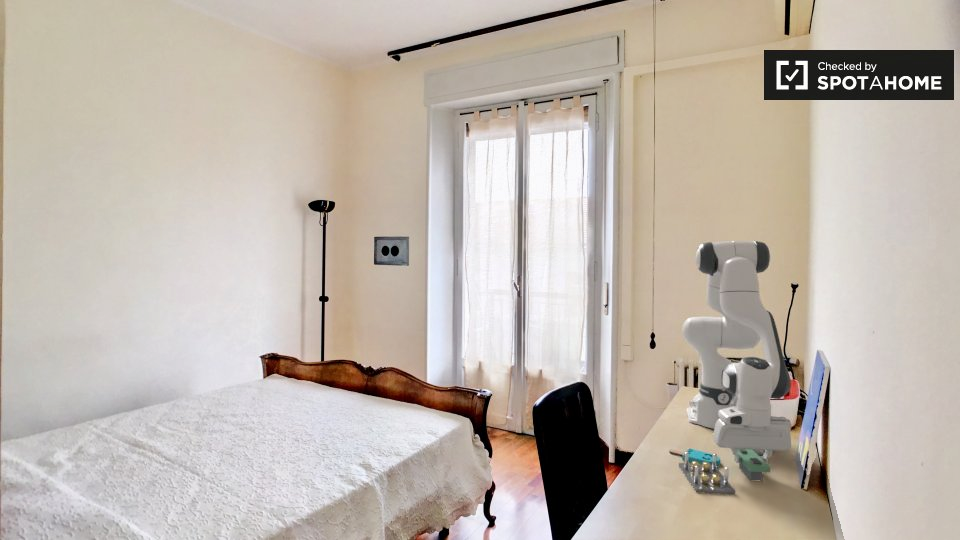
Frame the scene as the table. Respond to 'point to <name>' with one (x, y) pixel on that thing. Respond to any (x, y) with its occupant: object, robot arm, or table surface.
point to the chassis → (706, 476)
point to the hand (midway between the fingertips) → (750, 462)
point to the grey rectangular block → (750, 473)
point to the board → (753, 461)
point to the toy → (697, 456)
